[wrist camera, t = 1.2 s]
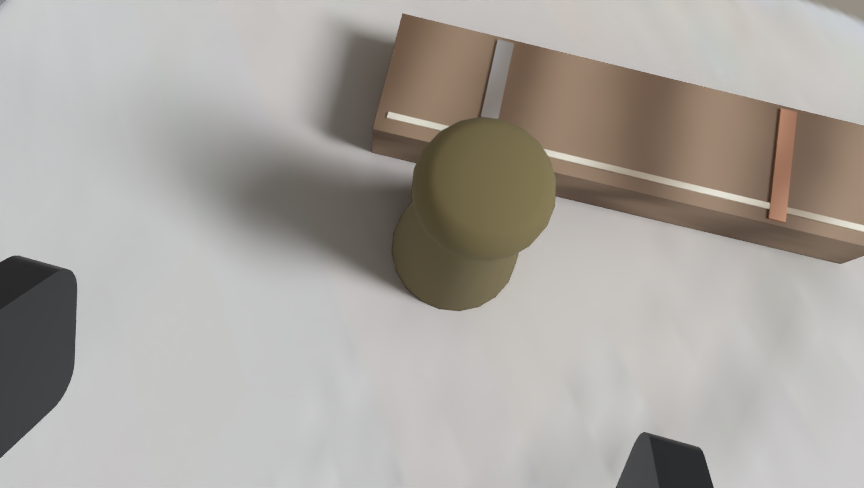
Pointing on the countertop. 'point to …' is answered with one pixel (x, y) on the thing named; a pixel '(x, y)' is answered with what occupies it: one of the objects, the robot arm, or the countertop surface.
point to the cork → (472, 212)
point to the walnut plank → (637, 138)
